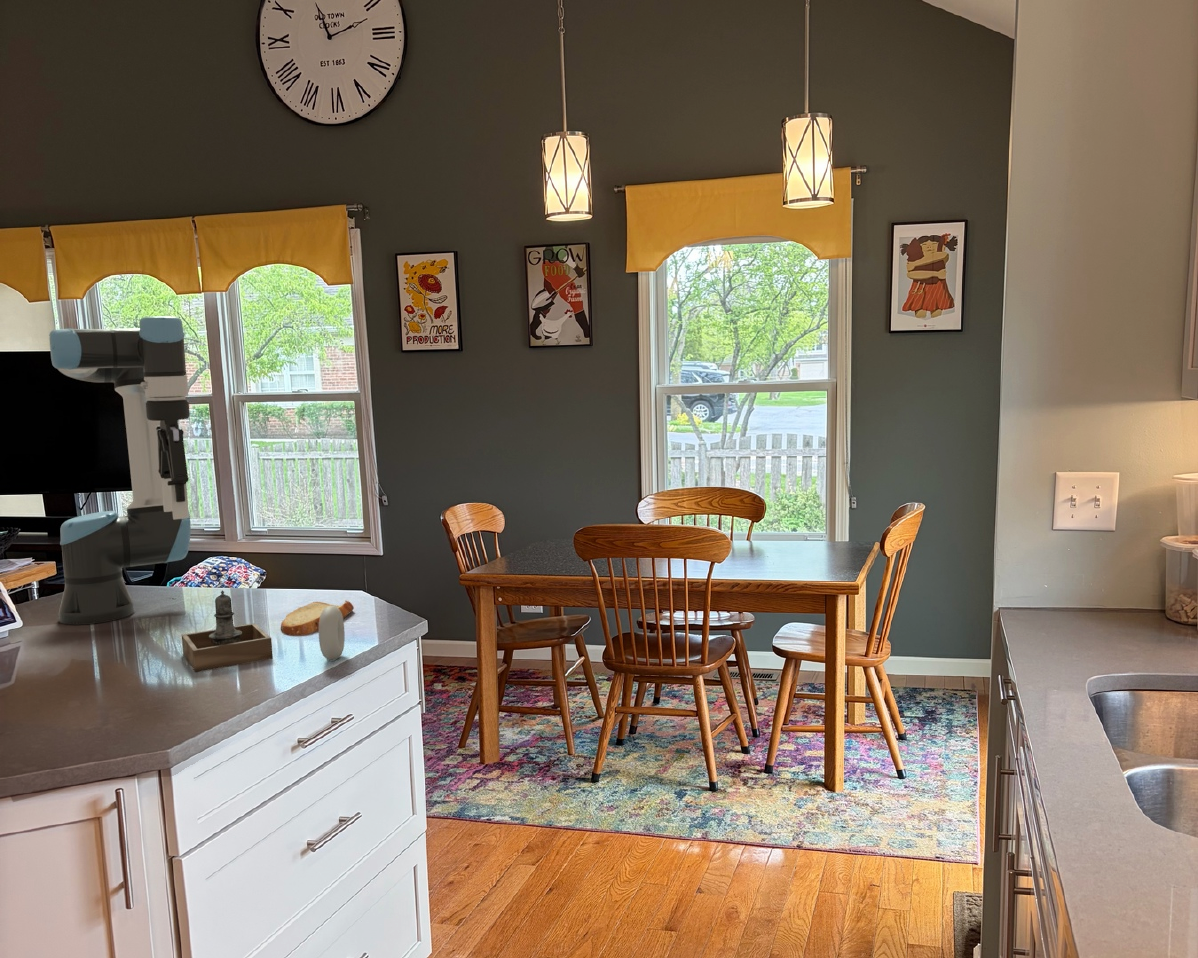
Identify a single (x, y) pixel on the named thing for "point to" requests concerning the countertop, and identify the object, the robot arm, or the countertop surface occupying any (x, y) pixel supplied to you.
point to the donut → (331, 633)
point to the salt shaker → (224, 622)
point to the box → (226, 649)
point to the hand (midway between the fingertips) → (176, 514)
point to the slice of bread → (309, 618)
